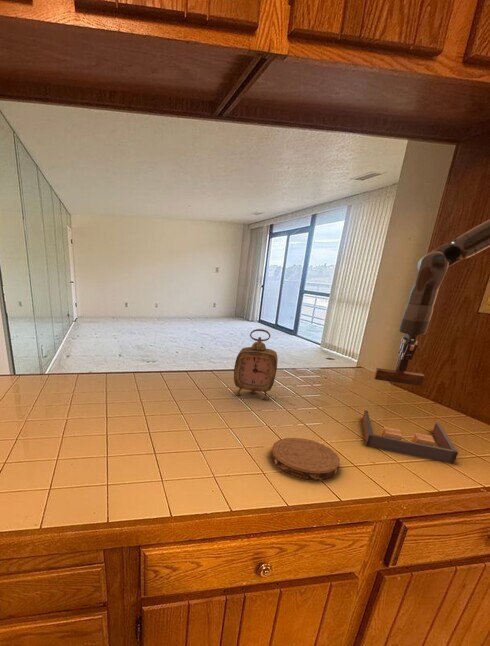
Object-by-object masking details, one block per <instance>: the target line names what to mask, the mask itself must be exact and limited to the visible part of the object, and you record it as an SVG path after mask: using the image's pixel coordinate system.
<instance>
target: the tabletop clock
mask: <svg viewBox="0 0 490 646" xmlns="http://www.w3.org/2000/svg"><path fill="white" fill-rule="evenodd" d="M255 332H264V333H266V334H267V335H268V337H267V338H264V339H263V338H262V337H261V336H258V337H257V338H254V337H253V335H252V334H253V333H255ZM249 337H250V339H251V340H253V341H255V342H254V343H252V345H251V346H247V347H246V346H245V347H242V348H241V349H240V351H239V352H238V354H237V356H236V358H235V362H234V366H233V367H234V368H233V382H234V385H235V387H237V388H239V389H238V390H236V391H235V392H234V394H235V396H237V397H238V396H240V392H241V391H242V390H247V391H250V393H251V394H253V395H254V394H256V393H257V392H263V393H264V395H265V396H264V400H266V401H268V400H269V399H270V396H269V395H268V394H267V392H270V391H271V390H272V388H273V386H274V383H275V378H276V375H277V371H278V362H279V361H278V354H277V351H275V350H274V349H271V348H267V346H266V343H264V342H266V341H269V340H270V339H271V333H270V332H269V330H267V329H262V328H256V329H253V330H252V331H251V332H250V334H249Z"/></svg>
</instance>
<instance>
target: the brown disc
mask: <svg viewBox="0 0 490 646" xmlns="http://www.w3.org/2000/svg"><path fill="white" fill-rule="evenodd" d="M270 460H271V463H272V465H273V466H274V467H275V468H276V469H277V470H279V471H280V472H282V473H283V474H285V475H287V476H290V477H292V478H294V479H298V480H301V481H305V482H316V483H317V482H327V481H328V480H331V479H334V478H335V476H336V475H338V472H339V467H340V457H339V455H338V453H336V452H335V451H334V450H333V449H332V448H331V447H329V446H327V445H325V444H323V443H321V442H318V441H315V440H312V439H307V438H304V437H303V438H302V437H285V438H282V439H278V440H277V441H276V442H273V445H272V448H271V453H270Z"/></svg>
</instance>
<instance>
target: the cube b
mask: <svg viewBox="0 0 490 646" xmlns="http://www.w3.org/2000/svg"><path fill="white" fill-rule="evenodd" d="M411 442H414V443H419V444H424V445H429V446H435V443H436V442H435V440H434V436H433V435H429V434H426V433H425V434H424V433H419V432H414V433H413V435H412V438H411Z"/></svg>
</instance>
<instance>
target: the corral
mask: <svg viewBox="0 0 490 646" xmlns="http://www.w3.org/2000/svg"><path fill="white" fill-rule="evenodd" d="M361 421H362V428H363V435H364V441H365V446H366V447H369V448H374V449H375V448H376V449H379V450H385V451H390V452H394V453H399V454H400V453H401V454H403V455H409V456H414V457H419V458H425V459H428V460H434V461H438V462H444V463H449V464H455V461H456V459H457V456H458V454H459V451H458V450H457V449H456V446H455V445H454V444H453V442H452V440H451V439H450V437H449V435H448V434H447V432H446V431H445V429H444V428H443V425H442V424H441V423H440V422H437V421H435V423H434V425H433V429H432V432H431V433H432V434H433V437H434V438H435V440H436V441H437V443H438V445H439V446H435V445H434V446H429V445H424V444H419V443H414V442H412V441H407V440H402V439H401V440H398V439H393V438H388V437H382V435H377V434H373V430H372V424H371V418H370V414H369V410H364V411H363V415H362V418H361Z"/></svg>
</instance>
